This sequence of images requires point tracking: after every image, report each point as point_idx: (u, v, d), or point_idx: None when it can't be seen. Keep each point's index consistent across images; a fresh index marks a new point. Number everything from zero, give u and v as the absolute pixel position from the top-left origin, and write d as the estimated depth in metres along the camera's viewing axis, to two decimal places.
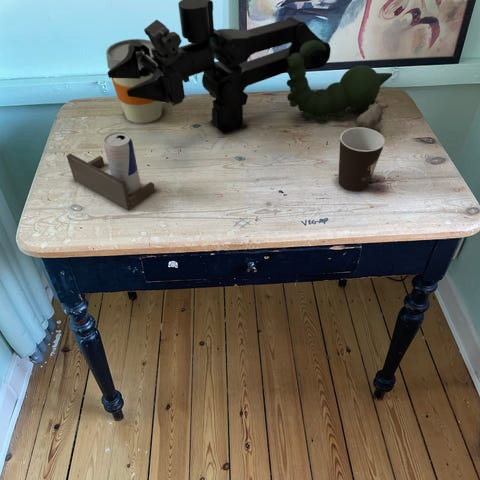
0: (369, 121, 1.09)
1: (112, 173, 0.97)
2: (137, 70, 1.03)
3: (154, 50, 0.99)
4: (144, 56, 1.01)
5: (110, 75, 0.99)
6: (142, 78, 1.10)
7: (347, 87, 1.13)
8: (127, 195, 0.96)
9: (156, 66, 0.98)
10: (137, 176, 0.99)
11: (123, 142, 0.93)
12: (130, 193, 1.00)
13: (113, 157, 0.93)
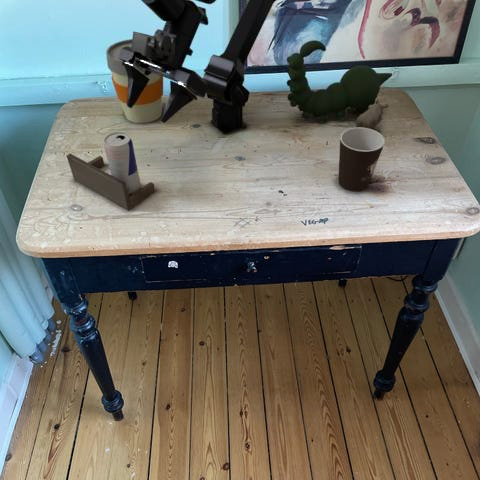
0: (369, 121, 1.09)
1: (112, 173, 0.97)
2: (143, 77, 0.97)
3: None
4: (141, 62, 0.95)
5: (130, 106, 0.97)
6: None
7: (347, 87, 1.13)
8: (127, 195, 0.96)
9: (161, 69, 0.92)
10: (137, 176, 0.99)
11: (123, 142, 0.93)
12: (130, 193, 1.00)
13: (113, 157, 0.93)
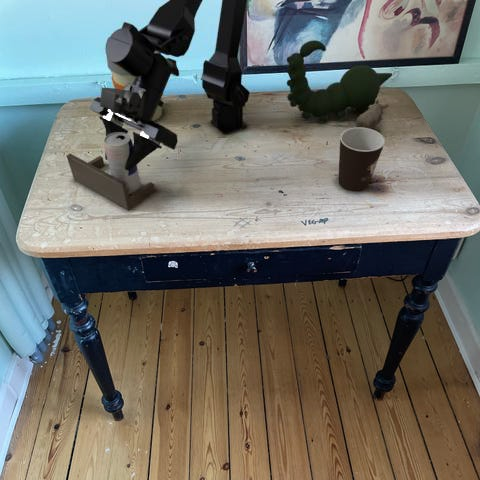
0: (369, 121, 1.09)
1: (112, 173, 0.97)
2: (122, 129, 0.97)
3: None
4: (119, 116, 0.94)
5: None
6: None
7: (347, 87, 1.13)
8: (127, 195, 0.96)
9: (139, 125, 0.92)
10: (137, 176, 0.99)
11: (123, 142, 0.92)
12: (130, 193, 1.00)
13: (113, 157, 0.93)
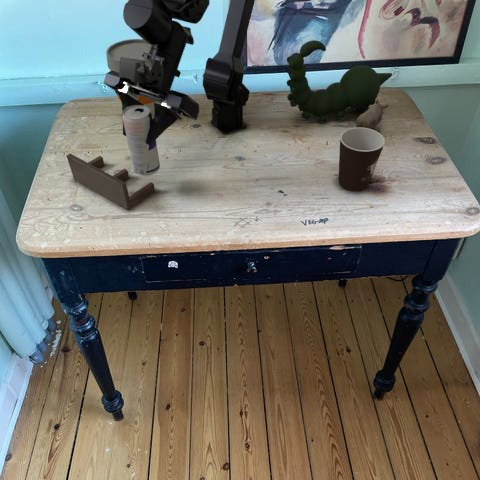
0: (369, 121, 1.09)
1: (131, 149, 0.93)
2: (138, 103, 0.94)
3: None
4: (135, 88, 0.91)
5: None
6: None
7: (347, 87, 1.13)
8: (127, 195, 0.96)
9: (158, 96, 0.89)
10: (156, 151, 0.96)
11: (143, 115, 0.89)
12: (150, 169, 0.96)
13: (134, 131, 0.90)
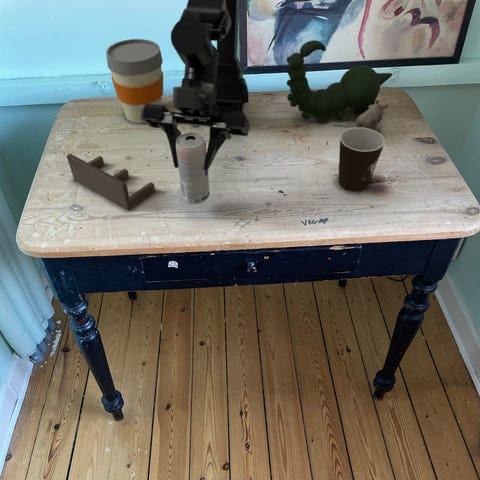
0: (369, 121, 1.09)
1: (187, 179, 0.89)
2: (178, 132, 0.90)
3: (181, 107, 0.85)
4: (178, 117, 0.87)
5: (177, 165, 0.89)
6: (142, 78, 1.10)
7: (347, 87, 1.13)
8: (127, 195, 0.96)
9: (208, 119, 0.86)
10: None
11: (199, 141, 0.86)
12: (205, 195, 0.93)
13: (193, 160, 0.86)
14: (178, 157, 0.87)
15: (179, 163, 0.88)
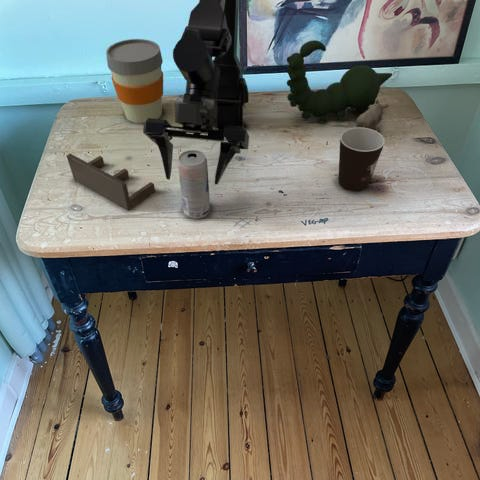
0: (369, 121, 1.09)
1: (189, 195, 0.92)
2: (170, 144, 0.92)
3: (183, 121, 0.87)
4: (170, 130, 0.89)
5: (169, 177, 0.92)
6: (142, 78, 1.10)
7: (347, 87, 1.13)
8: (127, 195, 0.96)
9: (199, 132, 0.89)
10: None
11: (200, 159, 0.89)
12: (206, 210, 0.96)
13: (195, 177, 0.89)
14: (180, 174, 0.90)
15: (181, 179, 0.91)
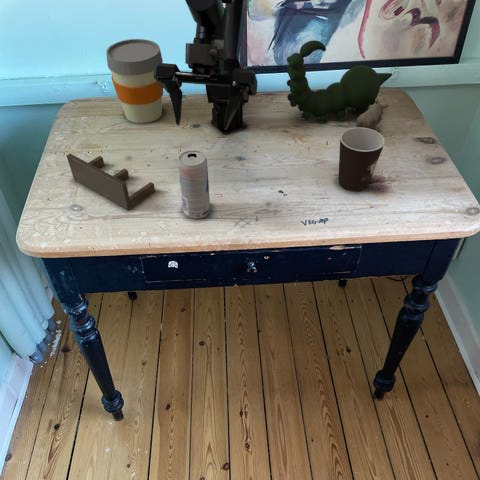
0: (369, 121, 1.09)
1: (189, 195, 0.92)
2: (180, 90, 0.93)
3: (193, 65, 0.89)
4: (180, 75, 0.91)
5: (179, 123, 0.93)
6: (142, 78, 1.10)
7: (347, 87, 1.13)
8: (127, 195, 0.96)
9: (208, 77, 0.90)
10: None
11: (200, 159, 0.89)
12: (206, 210, 0.96)
13: (195, 177, 0.89)
14: (180, 174, 0.90)
15: (181, 179, 0.91)
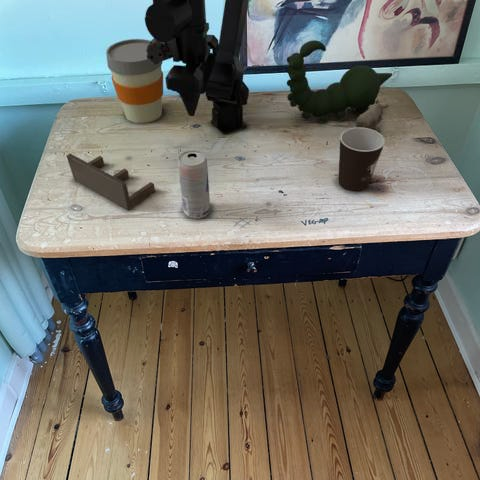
0: (369, 121, 1.09)
1: (189, 195, 0.92)
2: (205, 61, 0.99)
3: None
4: None
5: (202, 92, 1.03)
6: (142, 78, 1.10)
7: (347, 87, 1.13)
8: (127, 195, 0.96)
9: None
10: None
11: (200, 159, 0.89)
12: (206, 210, 0.96)
13: (195, 177, 0.89)
14: (180, 174, 0.90)
15: (181, 179, 0.91)
